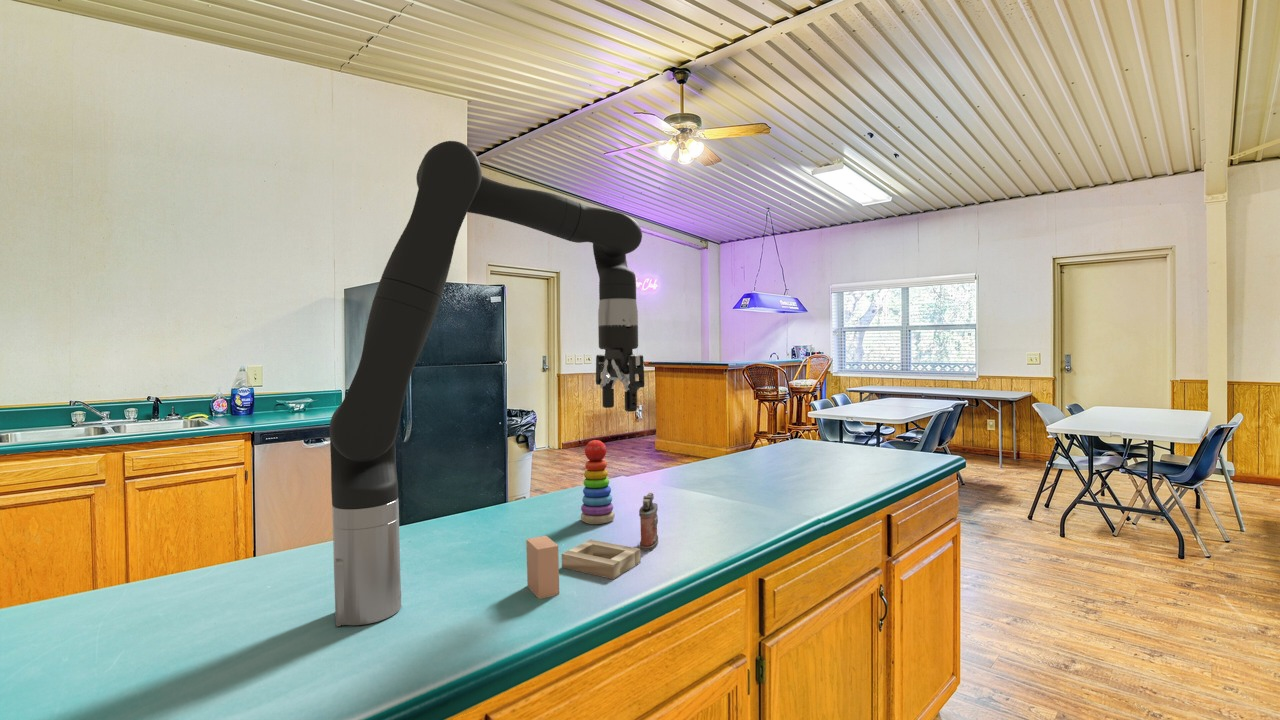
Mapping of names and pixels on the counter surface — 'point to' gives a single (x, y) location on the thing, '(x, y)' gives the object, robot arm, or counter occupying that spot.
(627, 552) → the frame
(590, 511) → the stacking toy
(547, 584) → the key block
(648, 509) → the lighter
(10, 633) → the counter surface
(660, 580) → the counter surface
